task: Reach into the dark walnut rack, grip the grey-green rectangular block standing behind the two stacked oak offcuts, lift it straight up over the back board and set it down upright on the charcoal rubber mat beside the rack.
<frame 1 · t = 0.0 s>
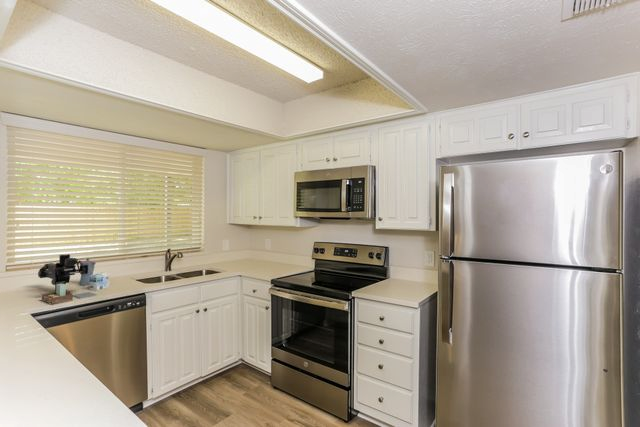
hand: (77, 272, 212), 17 cm above the counter, tool horizontal, fingers open, 9 cm apart
mat: (84, 295, 217), on the counter
light bulb box: (99, 288, 237), on the counter
grey-green rectangular block: (61, 300, 206), on the counter
offcut top: (53, 298, 203), point 2 cm above the counter
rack: (57, 300, 204), on the counter
moka pot: (86, 284, 250), on the counter
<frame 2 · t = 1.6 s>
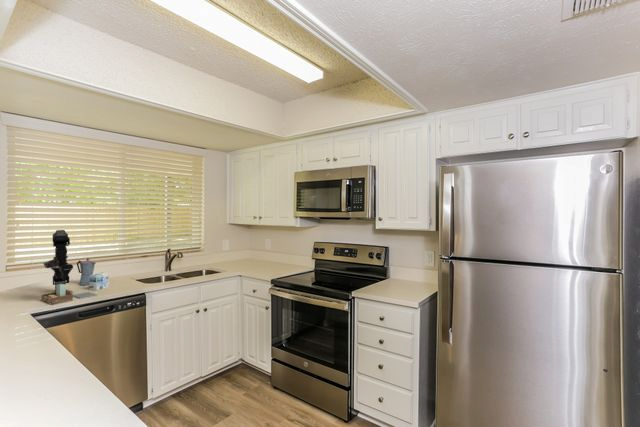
hand: (61, 279, 206), 13 cm above the counter, tool pointing down, fingers open, 9 cm apart
offcut top: (53, 299, 203), point 2 cm above the counter, touching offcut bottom
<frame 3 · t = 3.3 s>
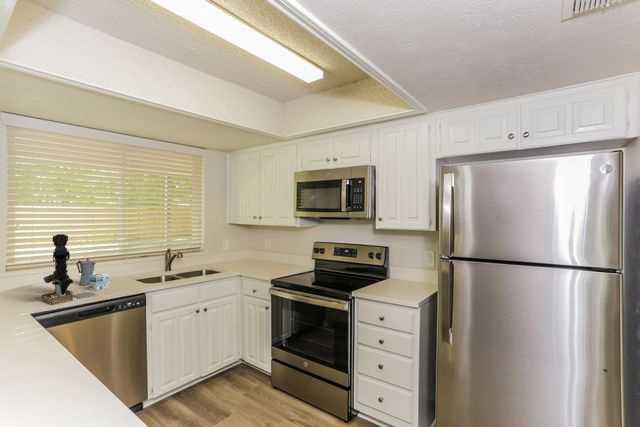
hand: (61, 293, 206), 4 cm above the counter, tool pointing down, fingers closed on grey-green rectangular block, 5 cm apart
grey-green rectangular block: (61, 300, 206), on the counter, touching gripper
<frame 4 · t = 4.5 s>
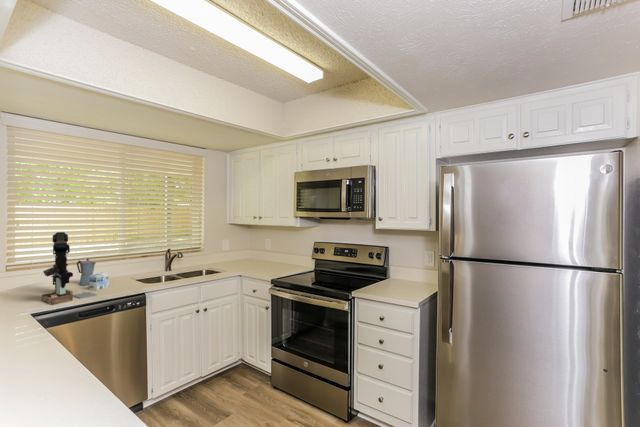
hand: (60, 287, 206), 8 cm above the counter, tool pointing down, fingers closed on grey-green rectangular block, 5 cm apart
grey-green rectangular block: (60, 293, 206), point 4 cm above the counter, touching gripper
everything else where it was.
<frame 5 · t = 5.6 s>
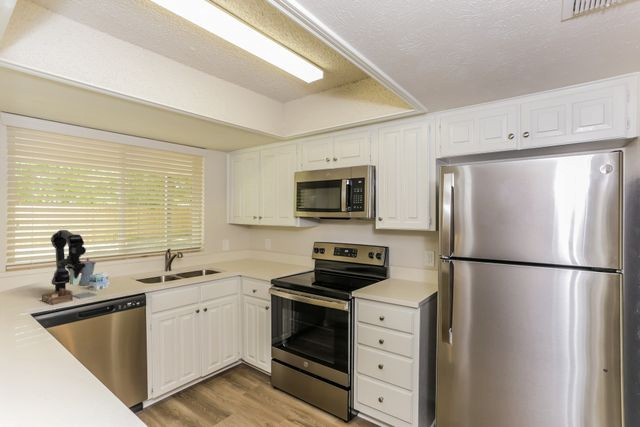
hand: (74, 277, 212), 13 cm above the counter, tool pointing down, fingers closed on grey-green rectangular block, 5 cm apart
grey-green rectangular block: (74, 284, 212), point 9 cm above the counter, touching gripper
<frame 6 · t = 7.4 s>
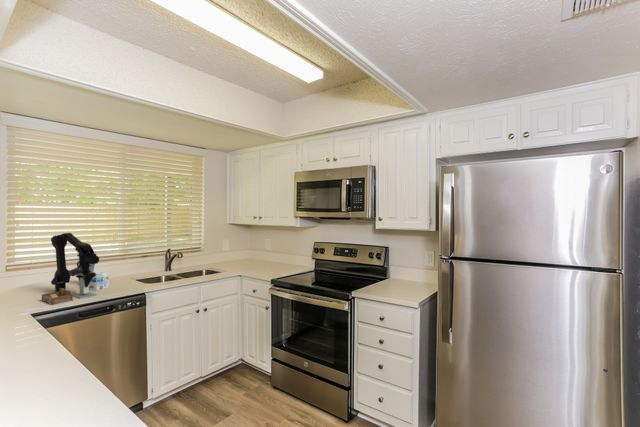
hand: (84, 286, 217), 6 cm above the counter, tool pointing down, fingers closed on grey-green rectangular block, 5 cm apart
grey-green rectangular block: (84, 292, 217), point 2 cm above the counter, touching gripper
offcut top: (53, 298, 203), point 2 cm above the counter
when the fingers open (6 cm above the counter, at t = 8.1 s): grey-green rectangular block drops 1 cm, resting on mat.
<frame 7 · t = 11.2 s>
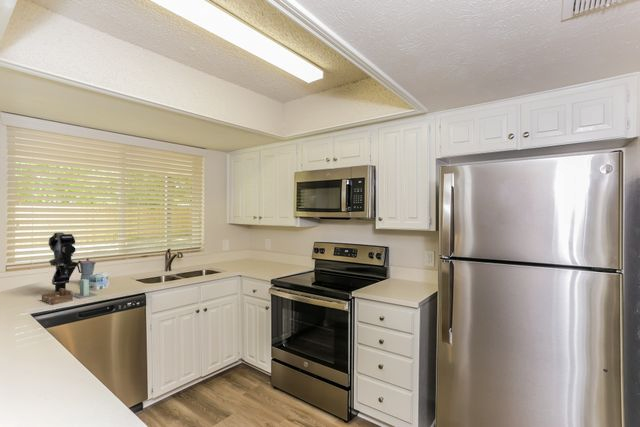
hand: (65, 276, 216), 13 cm above the counter, tool pointing down, fingers open, 9 cm apart
grey-green rectangular block: (84, 294, 217), resting on mat
offcut top: (56, 299, 204), point 1 cm above the counter, tilted 90°
everything else where it was.
at the end: grey-green rectangular block inside the target area (0.0 cm from its centre), point 0.5 cm above the counter; grey-green rectangular block tilted 0°; offcut top moved 1.9 cm from its start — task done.
